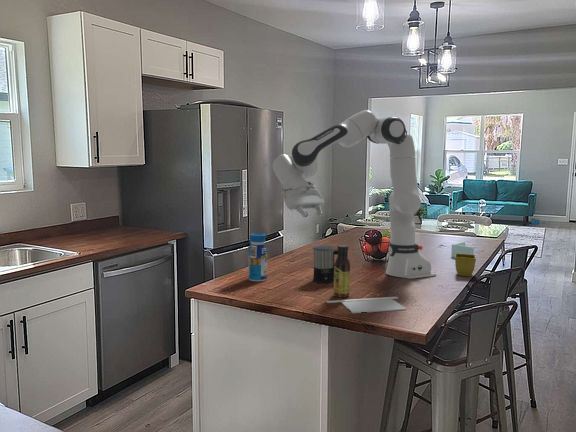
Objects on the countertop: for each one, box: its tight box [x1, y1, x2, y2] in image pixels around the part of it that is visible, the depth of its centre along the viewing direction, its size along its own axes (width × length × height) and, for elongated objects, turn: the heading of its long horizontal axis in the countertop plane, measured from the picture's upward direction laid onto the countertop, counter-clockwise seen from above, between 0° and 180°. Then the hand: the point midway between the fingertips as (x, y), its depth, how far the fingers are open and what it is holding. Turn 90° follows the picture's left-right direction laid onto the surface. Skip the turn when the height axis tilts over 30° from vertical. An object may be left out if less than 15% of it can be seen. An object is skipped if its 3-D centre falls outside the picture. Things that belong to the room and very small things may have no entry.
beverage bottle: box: [247, 232, 268, 282], centre depth 215 cm, size 8×8×20 cm
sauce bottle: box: [333, 244, 351, 298], centre depth 191 cm, size 7×6×20 cm
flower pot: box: [454, 254, 477, 277], centre depth 225 cm, size 9×9×9 cm
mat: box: [341, 299, 407, 314], centre depth 179 cm, size 20×12×1 cm, turn 102°
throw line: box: [326, 296, 399, 304], centre depth 186 cm, size 28×2×1 cm, turn 102°
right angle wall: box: [450, 241, 475, 259], centre depth 264 cm, size 12×12×8 cm
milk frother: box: [312, 245, 338, 284], centre depth 218 cm, size 14×16×15 cm
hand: (313, 215), depth 198 cm, fingers open, 8 cm apart
